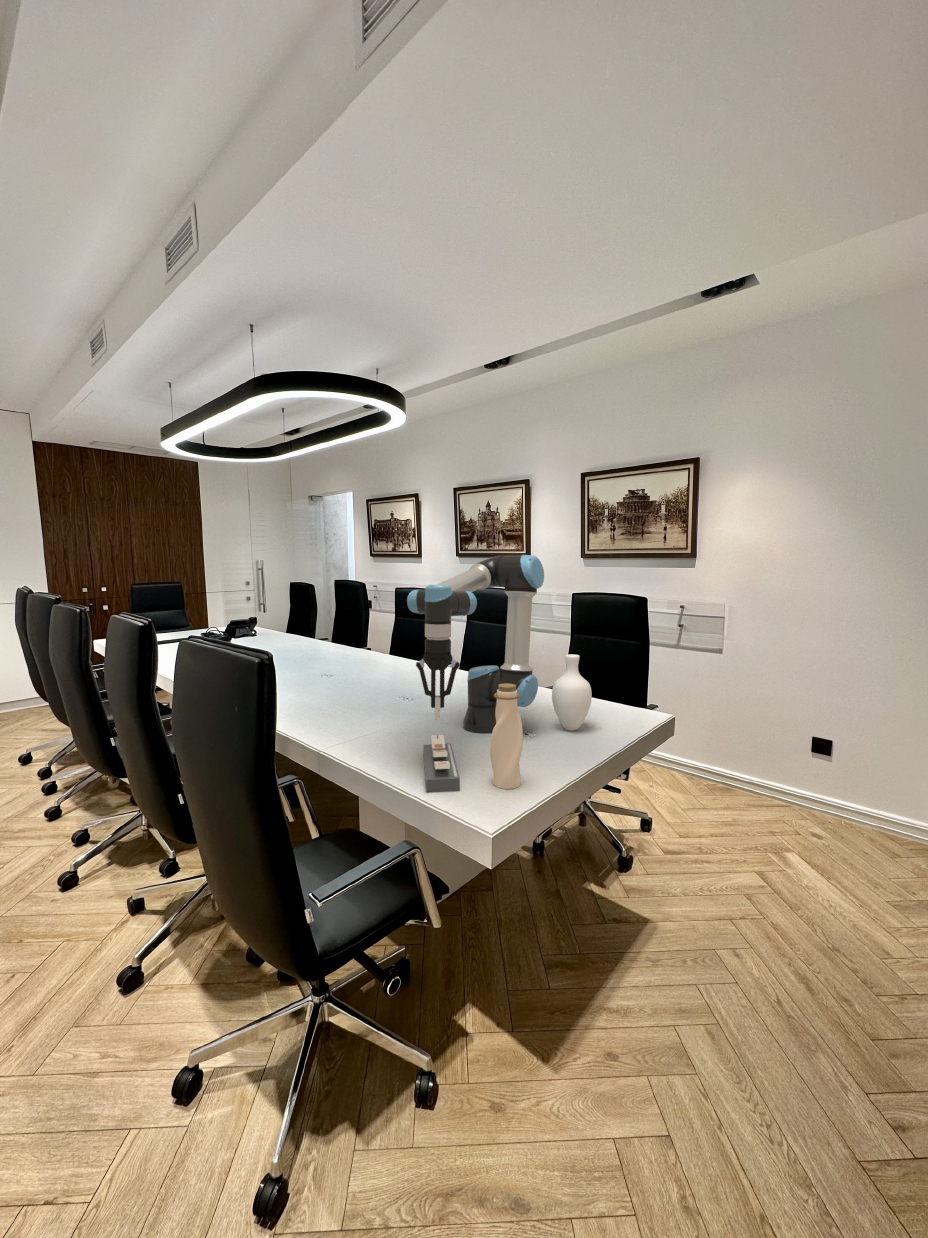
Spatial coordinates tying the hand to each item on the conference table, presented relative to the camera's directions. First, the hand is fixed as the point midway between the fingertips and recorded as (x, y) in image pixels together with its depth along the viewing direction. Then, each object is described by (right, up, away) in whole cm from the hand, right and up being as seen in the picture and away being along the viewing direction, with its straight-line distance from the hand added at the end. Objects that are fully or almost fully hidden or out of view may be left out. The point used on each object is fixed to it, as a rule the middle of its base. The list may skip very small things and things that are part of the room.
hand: (437, 718), depth 152 cm
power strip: (0, -16, +7) cm, 17 cm away
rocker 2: (+1, -11, +2) cm, 11 cm away
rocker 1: (0, -10, +11) cm, 15 cm away
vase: (+48, -12, +42) cm, 65 cm away
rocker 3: (+2, -12, -6) cm, 13 cm away
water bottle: (+20, -17, -5) cm, 27 cm away
